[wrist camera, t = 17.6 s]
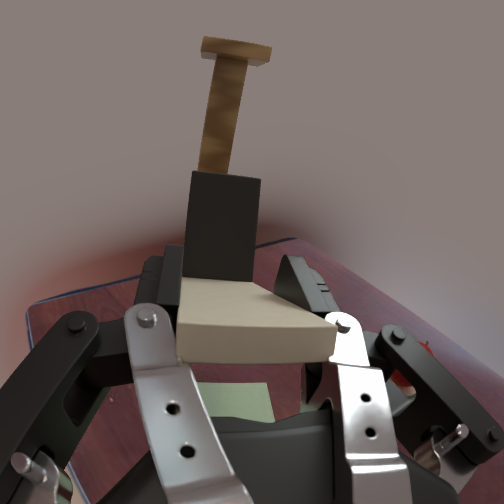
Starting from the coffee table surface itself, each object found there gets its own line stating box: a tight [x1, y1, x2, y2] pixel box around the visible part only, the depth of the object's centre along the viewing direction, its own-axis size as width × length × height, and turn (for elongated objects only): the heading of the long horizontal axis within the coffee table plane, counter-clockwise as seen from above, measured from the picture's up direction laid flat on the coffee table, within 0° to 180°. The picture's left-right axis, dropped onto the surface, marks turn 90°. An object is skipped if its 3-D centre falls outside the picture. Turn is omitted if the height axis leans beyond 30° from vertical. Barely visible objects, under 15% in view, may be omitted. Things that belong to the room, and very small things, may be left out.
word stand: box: [197, 36, 272, 174], centre depth 31 cm, size 6×6×32 cm
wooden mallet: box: [176, 171, 338, 364], centre depth 13 cm, size 4×13×7 cm, turn 9°
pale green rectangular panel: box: [196, 382, 275, 423], centre depth 22 cm, size 10×14×1 cm
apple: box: [390, 341, 434, 401], centre depth 31 cm, size 8×8×6 cm
